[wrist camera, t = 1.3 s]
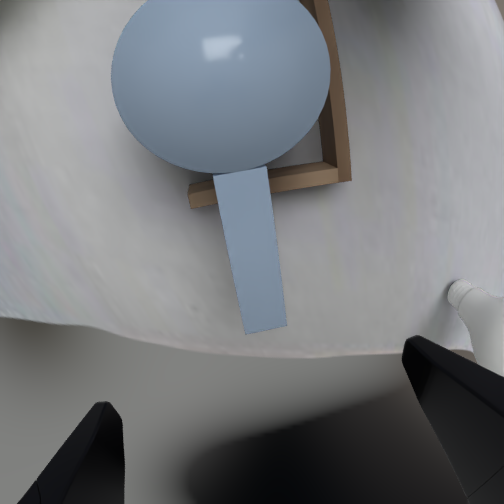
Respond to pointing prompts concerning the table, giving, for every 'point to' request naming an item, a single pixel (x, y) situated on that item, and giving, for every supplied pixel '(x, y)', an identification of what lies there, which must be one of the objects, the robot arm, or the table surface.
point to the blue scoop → (227, 114)
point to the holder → (331, 131)
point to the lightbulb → (481, 322)
